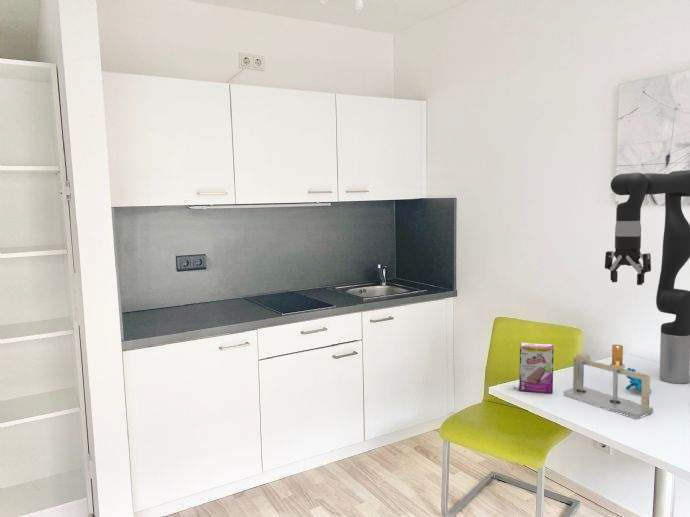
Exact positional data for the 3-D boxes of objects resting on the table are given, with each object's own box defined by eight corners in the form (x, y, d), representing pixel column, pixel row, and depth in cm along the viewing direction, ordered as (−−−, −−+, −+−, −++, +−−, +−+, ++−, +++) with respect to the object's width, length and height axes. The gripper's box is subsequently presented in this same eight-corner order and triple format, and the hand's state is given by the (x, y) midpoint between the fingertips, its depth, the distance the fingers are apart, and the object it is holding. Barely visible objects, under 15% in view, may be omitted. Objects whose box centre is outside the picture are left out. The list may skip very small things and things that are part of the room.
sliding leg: (614, 397, 170) (615, 344, 168) (623, 400, 167) (625, 346, 165) (609, 399, 168) (610, 345, 166) (618, 402, 165) (619, 347, 164)
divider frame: (579, 389, 183) (580, 351, 181) (652, 412, 162) (654, 369, 160) (563, 395, 178) (564, 355, 177) (636, 419, 157) (637, 374, 156)
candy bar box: (519, 391, 183) (519, 345, 181) (519, 386, 188) (519, 342, 186) (553, 394, 179) (553, 347, 178) (552, 389, 184) (553, 343, 182)
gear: (643, 393, 173) (623, 367, 178) (629, 402, 176) (610, 377, 182) (658, 390, 179) (638, 365, 185) (644, 399, 183) (625, 374, 188)
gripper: (656, 234, 167) (655, 284, 169) (613, 233, 179) (612, 280, 181) (643, 236, 163) (642, 287, 165) (600, 234, 176) (599, 282, 177)
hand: (626, 283), depth 173 cm, fingers open, 8 cm apart
